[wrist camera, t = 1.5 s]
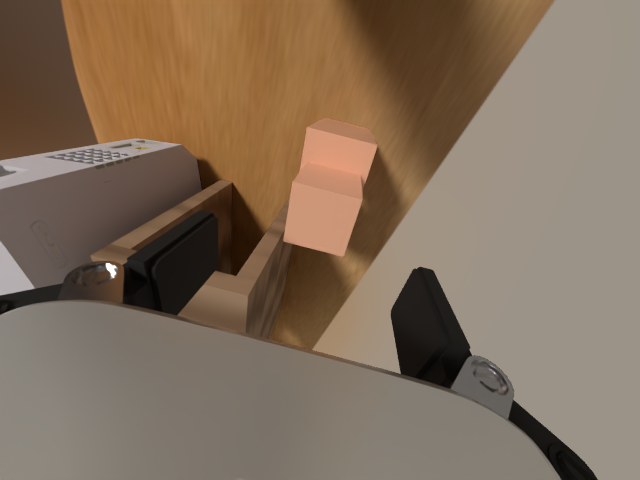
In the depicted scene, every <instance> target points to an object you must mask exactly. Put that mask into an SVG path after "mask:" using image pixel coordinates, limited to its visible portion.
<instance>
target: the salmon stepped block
mask: <svg viewBox="0 0 640 480" xmlns="http://www.w3.org/2000/svg"><path fill="white" fill-rule="evenodd" d="M377 146H378V145H377V143H376V141H375V139H374V137H373V135H372V133H371V132H370V130H369V129H368V128H364V127H360V126H356V125H352V124H349V123H345V122H341V121H337V120H333V119H329V118H323V119H322V120H320V121H318V122H316V123H314V124H312V125H310V126H308V127H307V131H306V137H305V143H304V148H303V154H302V160H301V166H300V172H299V174H298V175H297V177H296V178H295V179H294V180H293V182H292V188H291V195H290V201H289V207H288V214H287V220H286V226H285V233H284V239H283V241H284V242H288V243H291V244H295V245H299V246H303V247H307V248H311V249H315V250H319V251H323V252H327V253H330V254H334V255H338V256H342V257H344V254H345V251H346V248H347V245H348V242H349V239H350V236H351V233H352V230H353V227H354V224H355V221H356V218H357V215H358V212H359V209H360V206H361V204H362V201H363V197H362V192H363V189H364V186H365V183H366V180H367V177H368V174H369V170H370V167H371V164H372V161H373V158H374V155H375V152H376V149H377Z"/></svg>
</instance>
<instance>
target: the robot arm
mask: <svg viewBox="0 0 640 480" xmlns="http://www.w3.org/2000/svg"><path fill="white" fill-rule="evenodd" d="M218 263H219V261H218V218H217V217H215V215H214V213H211V212H207V211H203V210H199V211H197V212H196V213H194V214H193V215H191V216H190V217H188V218H187V219H185V220H184V221H182V222H181V223H179V224H178V225H176V226H175V227H173V228H172V229H170V230H169V231H167V232H166V233H164V234H163V235H161V236H160V237H158V238H157V239H155V240H154V241H152V242H150V243H149V244H147V245H146V246H144V247H143V248H141V249H140V250H138V251H137V252H135V253H134V254H132V255H131V256H129V257H128V258H127V262H126V263H124V264H123V265H121V264H120V263H118V262H115V261H96V262H91V263H87V264H84V265H81V266H79V267H77V268H75V269H73V270H72V271H71V272H69V273H68V274H67V275H66V277H65V278H64V281H63V283H61V284H56V285H51V286H46V287H41V288H36V289H30V290H25V291H20V292H15V293H10V294H5V295H0V480H598V479H597V478H596V476H595V475H594V473H593V472H592V470H591V469H590V468H589V467H588V466H587V464H585V462H584V461H583V460H582V459H581V458H580V457H579V456H578V455H577V454H575V452H573V451H572V450H571V449H570V448H569V447H568V446H566V445H565V444H564V443H563V442H562V441H561V440H559V439H558V438H557V437H556V436H555V435H554V434H552V433H551V432H550V431H549V430H548V429H547V428H546V427H544V426H543V425H542V424H541V423H540V422H538V421H537V420H536V419H535V418H534V417H533V416H531V415H530V414H529V413H528V412H527V411H526V410H525V409H523V408H522V407H521V406H520V405H519V404H518V403H516V402H515V401H514V400H513V397H514V389H513V387H512V384H511V382H510V381H509V379H508V377H507V376H506V375H505V374H504V373H503V371H502V370H500V368H498V367H497V366H496V365H495V364H494V363H492V362H490V361H489V360H487V359H485V358H483V357H480V356H475V355H474V356H472V354H471V352H470V350H469V349H470V346H469V343H468V342H467V339H466V337H465V335H464V333H463V331H462V329H461V327H460V325H459V323H458V321H457V319H456V316H455V315H454V313H453V310H452V308H451V306H450V304H449V302H448V300H447V298H446V296H445V294H444V292H443V290H442V288H441V285H440V283H439V282H438V279H437V277H436V275H435V273H434V271H433V270H431V269H427V268H423V267H419V268H417V269H414V270H413V271H412V273H411V275H410V276H409V279H408V280H407V282H406V284H405V285H404V287H403V289H402V291H401V293H400V294H399V296H398V298H397V300H396V302H395V304H394V305H393V308H392V310H391V320H392V325H393V331H394V337H395V343H396V348H397V354H398V360H399V366H400V371H401V374H398V373H395V372H392V371H388V370H384V369H381V368H377V367H373V366H370V365H366V364H362V363H358V362H354V361H350V360H347V359H343V358H339V357H336V356H332V355H328V354H324V353H321V352H317V351H313V350H309V349H305V348H301V347H298V346H294V345H290V344H286V343H282V342H278V341H275V340H271V339H267V338H263V337H259V336H255V335H251V334H247V333H244V332H240V331H236V330H232V329H228V328H224V327H220V326H216V325H212V324H208V323H204V322H200V321H196V320H192V319H188V318H185V317H180V316H177V315H178V314H179V313H180V312H181V310H182V309H183V308H184V307H185V306H186V305H187V303H188V302H189V301H190V300H191V299H192V298H193V296H194V295H195V294H196V293H197V292H198V291H199V289H200V288H201V287H202V286H203V285H204V284H205V282H206V281H207V280H208V279H209V278H210V277H211V275H212V274H213V273H214V272H215V271H216V269H217V267H218Z"/></svg>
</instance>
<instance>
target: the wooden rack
mask: <svg viewBox="0 0 640 480" xmlns="http://www.w3.org/2000/svg"><path fill="white" fill-rule="evenodd" d="M289 201H290V198H289V199H288V201H287V202H286V204H285V205H284V207H283V208H282V210H281V211H280V213H279V214H278V216H277V217H276V219H275V220H274V221H273V223H272V224H271V226H270V227H269V229H268V230H267V232H266V233H265V235H264V236H263V238H262V239H261V241H260V242H259V243H258V245H257V246H256V248H255V249H254V251H253V252H252V254H251V255H250V257H249V258H248V260H247V261H246V263H245V264H244V265H243V267H242V268H241V270H240V271H239V273H238V274H237V276H234V275H231V229H232V182H229V181H225V180H220V181H218V182H216V183H214V184H213V185H211V186H209V187H208V188H206V189H204V190H202V191H201V192H199V193H197V194H195V195H194V196H192V197H190V198H189V199H187V200H185V201H183V202H182V203H180V204H178V205H176V206H175V207H173V208H171V209H170V210H168V211H166V212H164V213H163V214H161V215H159V216H157V217H156V218H154V219H152V220H151V221H149V222H147V223H145V224H144V225H142V226H140V227H139V228H137V229H135V230H133V231H132V232H130V233H128V234H126V235H125V236H123V237H121V238H120V239H118V240H116V241H114V242H113V243H111V244H109V245H107V246H106V247H104V248H102V249H101V250H99V251H97V252H95V253H94V254H92V255H90V256H91V259H92V261H93V262H96V261H115V262H118V263H120V264H121V265H123V264H124V263H126V262H127V258H128V257H129V256H131V255H132V254H134V253H135V252H137V251H138V250H140V249H141V248H143V247H144V246H146V245H147V244H149V243H150V242H152V241H154V240H155V239H157V238H158V237H160V236H161V235H163V234H164V233H166V232H167V231H169V230H170V229H172V228H173V227H175V226H176V225H178V224H179V223H181V222H182V221H184V220H185V219H187V218H188V217H190V216H191V215H193V214H194V213H196V212H197V211H199V210H203V211H207V212H211V213H214V215H215V217H217V218H218V261H219V263H218V267H217V269H216V271H215V272H214V273H213V274H212V275H211V277H210V278H209V279H208V280H207V281H206V282H205V284H204V285H203V286H202V287H201V288H200V289H199V291H198V292H197V293H196V294H195V295H194V296H193V298H192V299H191V300H190V301H189V302H188V303H187V305H186V306H185V307H184V308H183V309H182V310H181V312H180V313H179V314H178V315H177V316H180V317H185V318H188V319H192V320H196V321H200V322H204V323H208V324H212V325H216V326H220V327H224V328H228V329H232V330H236V331H240V332H244V333H247V334H251V335H255V336H259V337H263V338H267V339H270V338H271V335H272V332H273V329H274V327H275V324H276V321H277V318H278V315H279V313H280V310H281V305H282V299H283V294H284V288H285V283H286V278H287V272H288V267H289V261H290V256H291V251H292V245H293V244H291V243H288V242H284V241H283V239H284V233H285V226H286V220H287V214H288V207H289Z"/></svg>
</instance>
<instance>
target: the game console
mask: <svg viewBox="0 0 640 480" xmlns="http://www.w3.org/2000/svg"><path fill="white" fill-rule="evenodd" d="M201 191H202V188H201V182H200V176H199V170H198V163H197V159H196V158H195V157H194V156H193V155H192V154H191V153H190V152H189V151H188V150H187V149H186V148H185V147H184V146H183V145H181V144H174V143H166V142H159V141H152V140H144V139H138V138H135V139H129V140H123V141H116V142H110V143H104V144H98V145H92V146H86V147H80V148H74V149H69V150H62V151H56V152H51V153H44V154H38V155H32V156H26V157H20V158H14V159H8V160H2V161H0V295H5V294H10V293H15V292H20V291H25V290H30V289H36V288H41V287H46V286H51V285H56V284H61V283H63V281H64V278H65V277H66V275H67V274H68V273H69V272H71V271H72V270H73V269H75V268H77V267H79V266H81V265H84V264H87V263H91V262H93V261H92V259H91V256H90V255H92V254H94V253H95V252H97V251H99V250H101V249H102V248H104V247H106V246H107V245H109V244H111V243H113V242H114V241H116V240H118V239H120V238H121V237H123V236H125V235H126V234H128V233H130V232H132V231H133V230H135V229H137V228H139V227H140V226H142V225H144V224H145V223H147V222H149V221H151V220H152V219H154V218H156V217H157V216H159V215H161V214H163V213H164V212H166V211H168V210H170V209H171V208H173V207H175V206H176V205H178V204H180V203H182V202H183V201H185V200H187V199H189V198H190V197H192V196H194V195H195V194H197V193H199V192H201Z"/></svg>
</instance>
